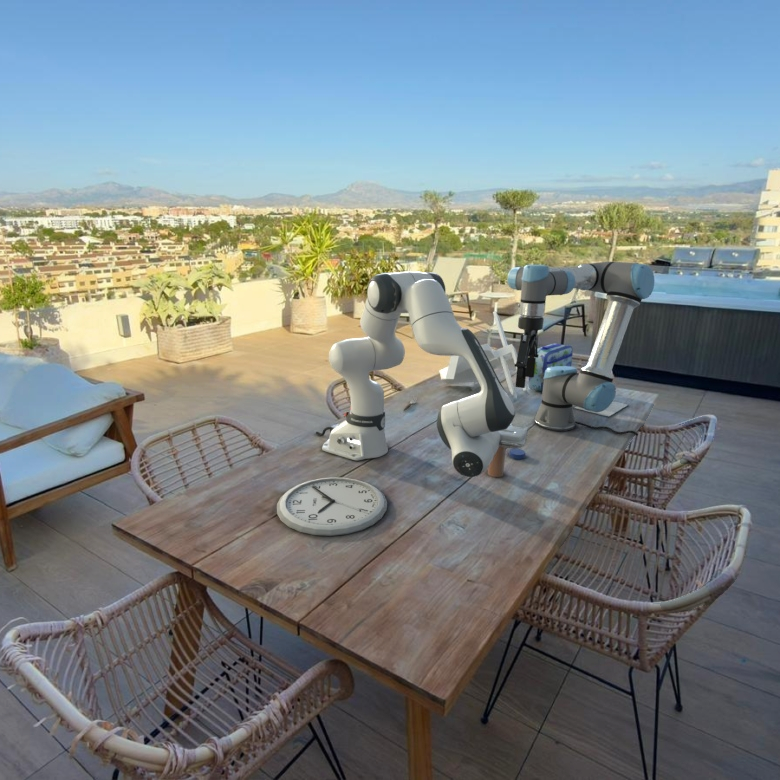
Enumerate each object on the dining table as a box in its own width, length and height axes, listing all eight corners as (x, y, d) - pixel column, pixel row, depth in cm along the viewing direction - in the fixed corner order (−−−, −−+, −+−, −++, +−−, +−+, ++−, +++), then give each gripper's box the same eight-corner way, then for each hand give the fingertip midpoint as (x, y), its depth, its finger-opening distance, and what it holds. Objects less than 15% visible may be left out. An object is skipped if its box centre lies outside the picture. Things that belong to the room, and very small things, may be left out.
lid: (527, 458, 174) (528, 453, 174) (514, 460, 173) (514, 455, 172) (519, 452, 179) (519, 447, 178) (506, 454, 177) (506, 449, 177)
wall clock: (392, 527, 129) (268, 531, 127) (391, 533, 130) (269, 537, 127) (383, 473, 158) (282, 475, 155) (383, 478, 158) (282, 480, 156)
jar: (484, 472, 164) (488, 426, 159) (497, 469, 166) (500, 424, 161) (493, 478, 160) (497, 432, 155) (506, 475, 162) (510, 429, 157)
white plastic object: (461, 429, 252) (437, 405, 227) (444, 352, 274) (420, 323, 250) (535, 404, 240) (518, 377, 215) (510, 326, 262) (492, 293, 237)
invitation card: (608, 416, 214) (573, 407, 224) (608, 416, 214) (573, 408, 224) (628, 404, 229) (594, 396, 238) (628, 405, 229) (594, 397, 238)
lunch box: (544, 395, 239) (549, 351, 233) (524, 390, 247) (528, 347, 240) (571, 384, 257) (577, 343, 251) (552, 380, 264) (556, 339, 258)
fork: (400, 411, 216) (400, 406, 215) (412, 399, 230) (412, 395, 230) (406, 412, 215) (406, 407, 215) (418, 400, 230) (418, 396, 229)
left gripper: (524, 435, 130) (532, 417, 142) (445, 423, 137) (458, 407, 149) (522, 458, 131) (529, 439, 144) (444, 445, 139) (457, 428, 151)
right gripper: (527, 309, 174) (522, 371, 180) (509, 320, 153) (503, 390, 159) (551, 311, 171) (544, 374, 177) (535, 323, 150) (528, 393, 156)
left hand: (493, 423), depth 146 cm, fingers open, 8 cm apart
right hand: (524, 381), depth 168 cm, fingers open, 13 cm apart
